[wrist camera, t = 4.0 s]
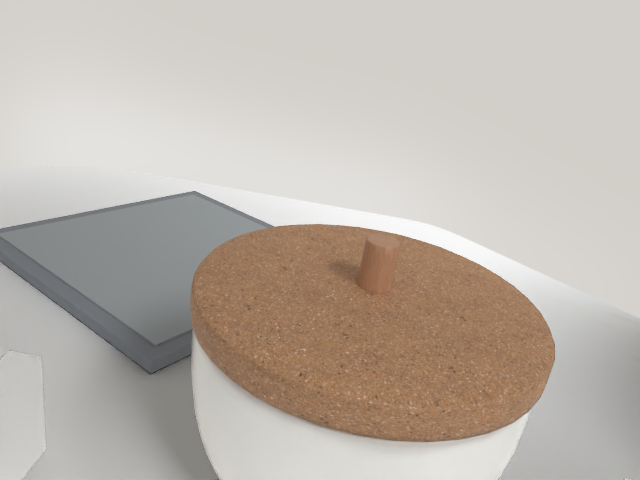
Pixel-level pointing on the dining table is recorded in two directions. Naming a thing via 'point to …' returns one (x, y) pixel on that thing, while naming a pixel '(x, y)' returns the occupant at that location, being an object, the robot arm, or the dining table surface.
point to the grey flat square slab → (127, 268)
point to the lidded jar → (360, 358)
